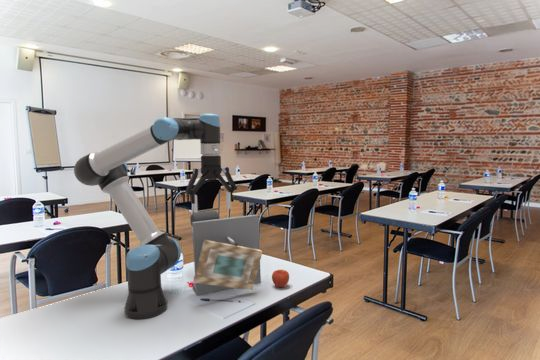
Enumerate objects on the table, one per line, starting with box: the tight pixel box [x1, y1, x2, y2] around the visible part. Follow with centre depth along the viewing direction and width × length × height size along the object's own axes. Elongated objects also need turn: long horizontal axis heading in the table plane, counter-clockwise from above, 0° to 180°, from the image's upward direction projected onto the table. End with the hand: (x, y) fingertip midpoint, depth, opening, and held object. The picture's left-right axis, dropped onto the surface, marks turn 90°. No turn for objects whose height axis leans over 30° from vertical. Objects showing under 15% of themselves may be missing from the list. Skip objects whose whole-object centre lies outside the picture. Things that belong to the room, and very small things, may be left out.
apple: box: [271, 269, 290, 288], centre depth 155 cm, size 7×7×8 cm
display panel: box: [191, 214, 262, 296], centre depth 153 cm, size 28×15×30 cm, turn 114°
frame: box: [193, 240, 263, 291], centre depth 143 cm, size 24×4×18 cm, turn 114°
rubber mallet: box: [189, 210, 220, 227], centre depth 171 cm, size 12×8×30 cm, turn 120°
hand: (212, 210), depth 141 cm, fingers open, 13 cm apart
